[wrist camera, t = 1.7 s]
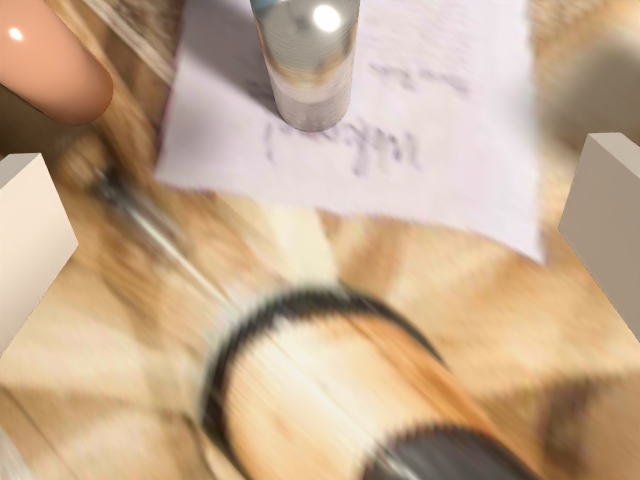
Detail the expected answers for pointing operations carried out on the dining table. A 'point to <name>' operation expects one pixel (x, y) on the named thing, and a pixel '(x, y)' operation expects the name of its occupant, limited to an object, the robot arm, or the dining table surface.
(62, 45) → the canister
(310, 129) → the steel roller
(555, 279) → the dining table surface
